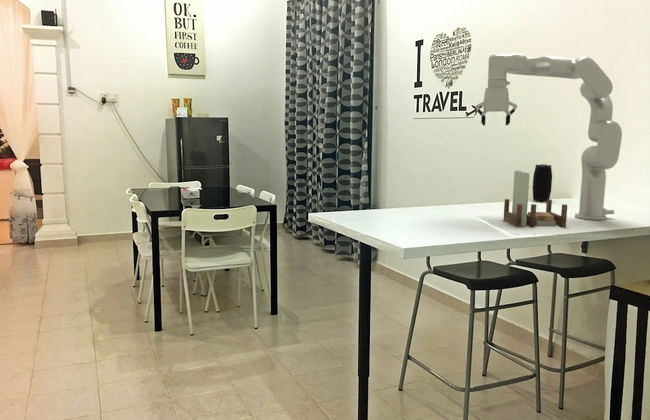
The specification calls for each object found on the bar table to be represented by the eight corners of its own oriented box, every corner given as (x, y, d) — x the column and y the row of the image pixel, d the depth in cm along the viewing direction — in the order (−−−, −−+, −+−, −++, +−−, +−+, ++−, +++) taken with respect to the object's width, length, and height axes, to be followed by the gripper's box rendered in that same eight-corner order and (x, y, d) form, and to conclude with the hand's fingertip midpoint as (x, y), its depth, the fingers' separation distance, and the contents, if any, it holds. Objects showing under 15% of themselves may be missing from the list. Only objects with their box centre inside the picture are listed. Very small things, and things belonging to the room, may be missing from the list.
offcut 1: (546, 217, 229) (546, 212, 229) (553, 221, 219) (554, 216, 219) (527, 216, 230) (528, 211, 230) (534, 220, 220) (534, 215, 220)
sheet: (516, 224, 230) (519, 170, 227) (525, 229, 219) (529, 173, 216) (511, 224, 230) (514, 170, 227) (520, 229, 219) (524, 173, 216)
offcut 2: (544, 221, 229) (544, 217, 229) (555, 226, 220) (555, 221, 219) (526, 221, 229) (526, 217, 229) (536, 226, 219) (537, 221, 219)
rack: (548, 223, 233) (550, 199, 231) (565, 230, 217) (567, 204, 216) (503, 222, 233) (504, 199, 231) (516, 230, 217) (518, 204, 215)
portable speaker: (553, 202, 296) (556, 165, 293) (536, 202, 295) (538, 165, 292) (545, 200, 304) (547, 164, 301) (528, 200, 303) (531, 164, 300)
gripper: (516, 84, 240) (514, 125, 243) (475, 85, 243) (473, 125, 245) (519, 83, 233) (518, 125, 235) (477, 84, 235) (475, 125, 238)
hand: (495, 125), depth 240 cm, fingers open, 9 cm apart
